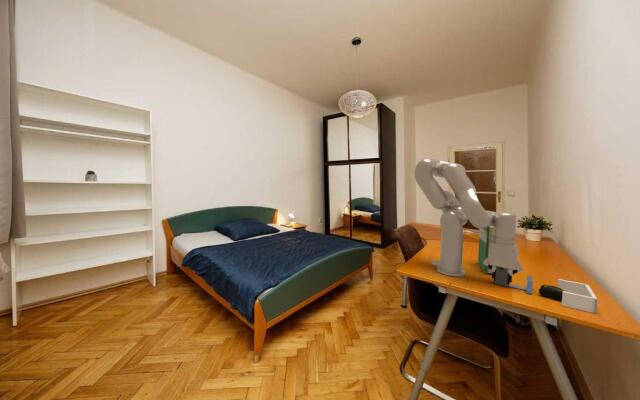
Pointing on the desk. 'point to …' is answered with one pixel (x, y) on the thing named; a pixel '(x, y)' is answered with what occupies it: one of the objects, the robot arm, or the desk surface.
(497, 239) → the robot arm
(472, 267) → the desk surface
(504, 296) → the desk surface
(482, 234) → the hardback book
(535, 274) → the desk surface
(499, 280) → the block dumbbell
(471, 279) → the desk surface
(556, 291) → the tape measure
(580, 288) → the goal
